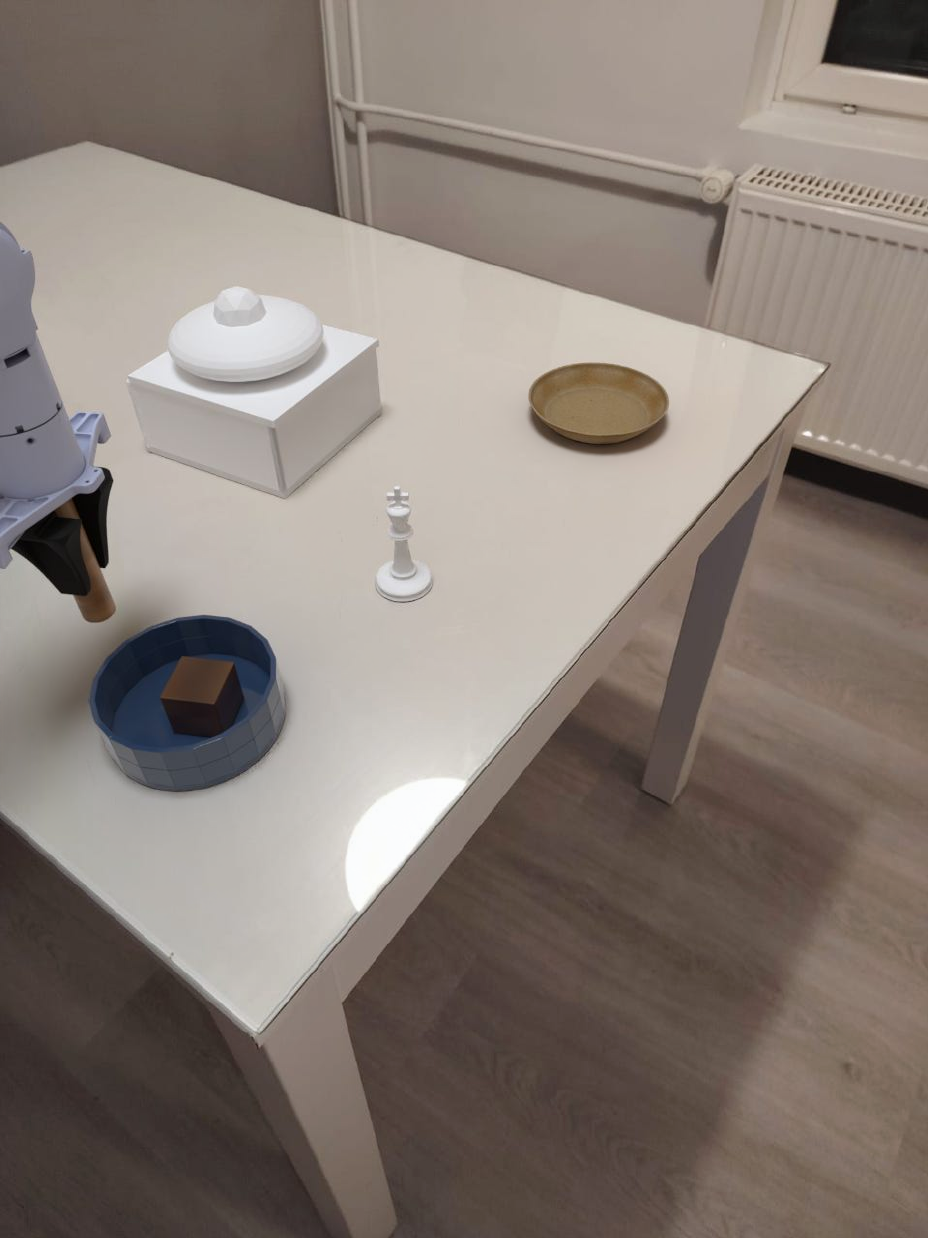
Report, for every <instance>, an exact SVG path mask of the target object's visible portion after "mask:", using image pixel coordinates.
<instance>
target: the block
mask: <svg viewBox="0 0 928 1238" xmlns="http://www.w3.org/2000/svg"><path fill="white" fill-rule="evenodd" d="M160 699H161V702H162V704H163V707H164V710H165V712H166V715H167V717H168V720H169V722H170V725H171V727H172V730H173V732H174V733H179V734H187V735H195V736H203V737H211V738H212V737H214V736H217V735H220V734H222V733H223V732H225V731H226V730H228V729H229V728H231V726H232V724H233V722H234V720H235V717H236V715H237V713H238V711H239V708H240V706H241V704H242V702H243V699H244V695H243V692H242V688H241V685H240V681H239V678H238V674H237V671H236V667H235V664H234V662H229V661H220V660H211V659H203V658H194V657H185V656H182V657H181V659H180V660H179V662H178V664H177V666H176V668H175V670H174V672H173V674H172V675H171V677H170V679H169V681H168V683H167V685H166V687H165V688H164V690H163V692H162V694H161V696H160Z"/></svg>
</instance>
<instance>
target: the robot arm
mask: <svg viewBox="0 0 928 1238" xmlns="http://www.w3.org/2000/svg"><path fill="white" fill-rule="evenodd" d="M32 253H33V252H32V251H31V250H29V249H25V248H22V247H20V244H19V243H18V241H17V239H16V237H15V236H14V234H13V233H12V231H11V230H10V229H9V228H8V227H7V226H6V225H5V224H4V223H3V222H2V221H0V569H2V570H5V569H7V568H8V566H9V565H10V564H11V562H12V561H13V559H14V558H13V556H12V554H11V552H10V551H11V550H13V551H14V552H15V553H17V554H18V555H20V556H21V557H23V558H24V559H25V560H27V561H28V562H29V563H30V564H32V565H33V566H34V567H35V568H36V569H37V570H38V571H39V572H40V573H41V574H42V575H43V576H44V577H45V578H46V579H47V580H48V581H49V583H50V584H51V585H53V587H54V588H55V589H56V590H57V591H58V592H59V593H60V594H61V595H69V596H70V595H71V596H73V595H78V596H86V595H87V594H88V593H89V592H90V590H91V583H90V578H89V575H88V571H87V568H86V565H85V562H84V559H83V556H82V550H81V541H80V533H81V524H82V525H83V527H84V530H85V532H86V534H87V537H88V539H89V542H90V544H91V547H92V549H93V552H94V554H95V556H96V559H97V561H98V564H99V566H100V569H106V568H107V566H108V565H109V561H110V557H109V556H110V555H109V554H110V552H109V543H108V542H109V540H108V539H109V538H108V526H107V525H108V524H107V523H108V508H109V501H110V495H111V491H112V487H113V484H114V478H113V475H112V472H111V470H110V469H109V468H108V467H107V468H106V467H103V466H94V464H95V458H96V453H97V448H98V444H99V445H104V444H106V443H107V442H108V441H109V440H110V439H111V437H112V434H111V431H110V428H109V425H108V422H107V419H106V417H105V413H103V412H94V411H82V410H77V411H75V413H74V414H72V416H71V417H69V415H68V412H67V410H66V407H65V405H64V402H63V400H62V397H61V393H60V391H59V389H58V388H59V387H58V386H57V383H56V381H55V377H54V375H53V373H52V370H51V367H50V364H49V362H48V359H47V357H46V354H45V351H44V349H43V345H42V344H41V342H40V339H39V336H38V333H37V331H38V330H39V327H38V323H37V321H36V318H35V316H34V314H33V313H34V312H33V309H32V300H33V299H32V298H33V295H34V290H35V285H36V266H35V260H34V258H33V254H32ZM71 498H72V500H73V503H74V505H75V508H76V510H77V512H78V515H79V517H80V519H74V518H63V517H58V515H57V513H56V512H55V511H54V510H55V509H56V508H58V507H59V506H61V505H62V504H64V503H65V502H66V501H68V500H69V499H71ZM52 511H53V512H52Z"/></svg>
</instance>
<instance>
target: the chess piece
mask: <svg viewBox="0 0 928 1238" xmlns="http://www.w3.org/2000/svg"><path fill="white" fill-rule="evenodd" d="M386 500H387V501H391V502H390V503H388V504H387V506H386V508H385V513H386V514H387V516H388V518H389V520H390V522H391V525H390V526H388V528H387V531H386V534H387V537H388V538H389V539H391V540H393V541H394V548H393V552H394V553H393V559H392V560H390V561H388V562H385V563H384V564H383V565H382V566H381V567H380V568H379V569H378V570H377V572H376V574H375V575H376V576H375V584H374V585H375V588H376V591H377V592H378V594H380V596H382V597H384V598H385V599H388V600H389V601H393V602H398V603H399V602H400V603H405V602H406V603H407V602H412V601H415V600H418V599H421V598H422V597H425V595H427V594H428V593H429V592H430V590H431V589H432V586H433V583H434V582H433V576H432V572H431V569H430V568H429V566H427V565H426V563H424V562H422V561H420V560H417V559H415V558H412V556H411V552H410V548H409V542H408V540H409V539H411V538H412V537H413V536H414V529H413V526H412V525H410V524H409V523H408V521H409V519H410V516H411V513H412V507H411V504H410V503H408V502H407V501H409V500H410V499H409V492H401V485H394V488H393V492H386Z"/></svg>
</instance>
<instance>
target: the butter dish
mask: <svg viewBox="0 0 928 1238" xmlns="http://www.w3.org/2000/svg"><path fill="white" fill-rule="evenodd" d="M379 346H380V340H379V338H376V337H373V336H369V335H363V334H360V333H356V332H352V331H348V330H344V329H340V328H337V327H334V326H330V325H326V324H322V322H321V320H320V319H319V317H318V315H317V314H316V313H314V312H313V311H312V310H311V309H309V308H308V307H307V306H305V305H303V304H301V303H299V302H297V301H294V300H291V299H287V298H285V297H280V296H275V295H265V294H257V293H255V292H254V291H253V290H251V289H250V288H248V287H247V288H246V287H242V286H238V285H234V286H231V287H228V288H226V289H223V290H221V292H220V293H219V295H218V296H217V297H216V299H215V300H212V301H209V302H208V303H205V304H203V305H200V306H197V308H194V309H193V310H191V311H190V312H188V313H186V314H185V315H184V316H182V317H181V318H179V320H178V321H177V322H176V323H175V324H174V325H173V326H172V328H171V330H170V332H169V334H168V337H167V346H166V347H167V351H164V352H162V354H159V356H157V357H155V358H154V359H152V360H151V361H149V362H147V363H145V364H144V365H142V366H140V367H139V368H137V369H136V370H134V371H132V372H131V373H129V374H128V375H127V378H126V380H125V384H126V386H127V389H128V392H129V393H128V394H129V396H130V399H131V403H132V406H133V408H134V413H135V416H136V418H137V422H138V425H139V428H140V431H141V434H142V437H143V442H144V444H145V447H146V448H147V450H148V452H150V453H153V454H154V455H155V454H156V455H157V456H161V457H164V458H166V459H169V460H172V461H175V462H178V463H181V464H184V465H186V466H190V467H193V468H195V469H198V470H201V471H204V472H207V473H210V474H212V475H214V476H215V475H216V476H218V477H221V478H224V479H227V480H229V481H232V482H236V483H237V484H242V485H243V486H244V485H245V486H247V487H250V488H253V489H255V490H258V491H260V492H264V493H267V494H270V495H272V496H276V497H279V498H282V499H284V500H285V499H287V498H288V497H289V496H290V495H291V494H293V492H295V491H296V490H297V489H298V488H299V487H300V486H302V484H304V483H305V482H306V481H307V480H308V479H309V478H310V477H311V476H313V475H314V474H315V473H316V472H317V471H318V470H319V469H321V468H322V467H323V466H324V465H326V463H328V462H329V461H330V460H331V459H332V458H333V457H334V456H335V455H337V453H338V452H340V451H341V450H342V449H343V448H344V447H346V446H347V445H348V444H349V443H350V442H351V441H352V440H353V439H355V438H356V437H357V436H359V434H360V433H362V431H364V430H365V429H366V428H367V427H368V426H369V425H371V423H372V422H374V421H375V420H376V419H377V418H378V417H379V416H380V415H381V414H382V404H381V394H380V393H381V391H380V380H379V368H378V367H379V366H378V356H377V348H379Z"/></svg>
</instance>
